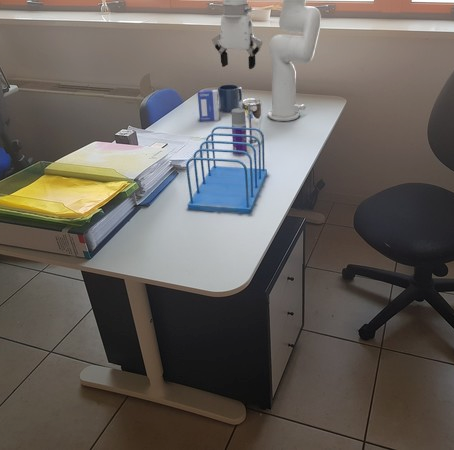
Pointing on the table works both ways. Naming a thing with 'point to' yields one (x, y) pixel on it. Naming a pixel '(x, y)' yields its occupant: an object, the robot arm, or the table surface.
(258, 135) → the beer glass
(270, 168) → the table surface
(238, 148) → the container
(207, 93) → the blue white carton
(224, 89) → the coffee mug
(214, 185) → the file sorter
